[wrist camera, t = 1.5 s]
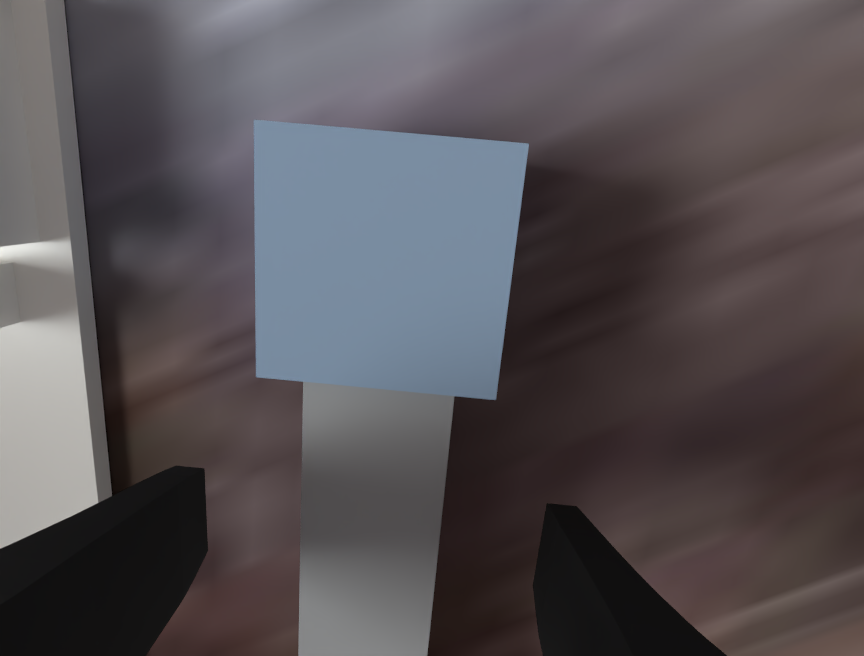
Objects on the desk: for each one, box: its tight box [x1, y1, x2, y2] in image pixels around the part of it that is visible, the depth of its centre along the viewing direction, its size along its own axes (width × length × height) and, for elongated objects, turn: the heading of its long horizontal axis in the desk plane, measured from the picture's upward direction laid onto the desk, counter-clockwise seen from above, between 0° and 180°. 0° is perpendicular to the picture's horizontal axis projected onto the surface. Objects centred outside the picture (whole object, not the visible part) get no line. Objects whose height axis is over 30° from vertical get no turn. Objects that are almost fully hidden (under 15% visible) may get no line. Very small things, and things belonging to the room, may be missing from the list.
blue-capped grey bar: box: [254, 120, 529, 656], centre depth 13 cm, size 18×4×4 cm, turn 175°
